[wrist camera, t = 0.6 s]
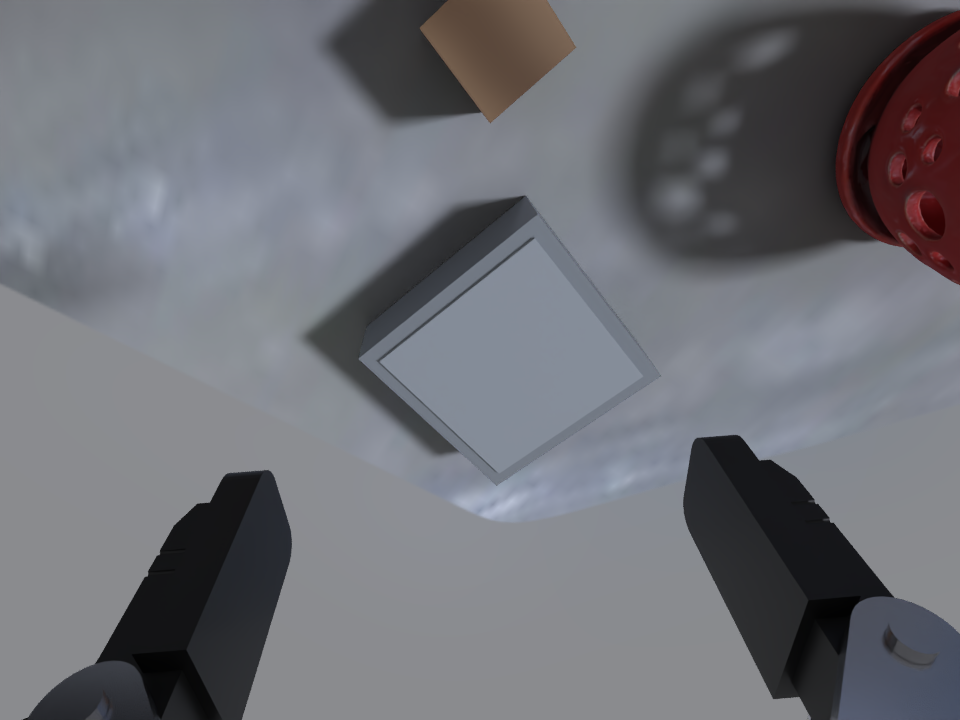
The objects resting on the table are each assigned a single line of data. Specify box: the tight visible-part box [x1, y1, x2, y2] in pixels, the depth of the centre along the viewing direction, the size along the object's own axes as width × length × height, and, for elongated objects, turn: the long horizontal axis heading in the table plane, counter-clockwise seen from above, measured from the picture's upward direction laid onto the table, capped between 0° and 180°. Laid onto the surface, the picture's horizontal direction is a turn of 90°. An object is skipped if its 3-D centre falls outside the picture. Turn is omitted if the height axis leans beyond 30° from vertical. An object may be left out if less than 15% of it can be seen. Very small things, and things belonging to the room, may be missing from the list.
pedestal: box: [358, 196, 661, 486], centre depth 32 cm, size 12×12×4 cm
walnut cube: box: [420, 0, 576, 123], centre depth 25 cm, size 4×4×5 cm
